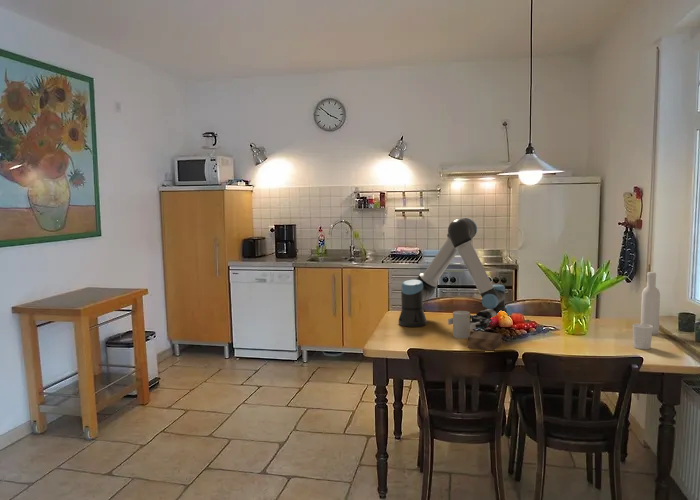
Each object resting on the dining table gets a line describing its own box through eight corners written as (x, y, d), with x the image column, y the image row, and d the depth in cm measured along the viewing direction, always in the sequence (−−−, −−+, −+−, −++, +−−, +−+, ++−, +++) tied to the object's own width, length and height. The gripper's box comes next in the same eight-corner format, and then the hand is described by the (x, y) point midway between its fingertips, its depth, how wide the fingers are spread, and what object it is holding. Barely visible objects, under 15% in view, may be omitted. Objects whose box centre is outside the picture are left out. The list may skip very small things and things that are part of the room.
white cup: (627, 345, 236) (628, 323, 235) (644, 344, 237) (645, 323, 236) (639, 350, 228) (639, 328, 227) (656, 349, 229) (656, 327, 228)
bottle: (643, 329, 262) (645, 270, 259) (660, 332, 256) (663, 272, 253) (637, 333, 256) (640, 272, 253) (655, 335, 251) (658, 274, 247)
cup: (470, 338, 252) (470, 314, 251) (453, 338, 254) (452, 314, 252) (469, 334, 260) (469, 310, 259) (453, 333, 262) (453, 310, 260)
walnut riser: (467, 347, 238) (467, 336, 237) (476, 341, 248) (476, 330, 247) (493, 351, 232) (493, 340, 231) (501, 344, 242) (501, 333, 241)
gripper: (506, 329, 259) (480, 336, 246) (466, 320, 278) (440, 327, 265) (507, 314, 258) (480, 321, 245) (466, 306, 277) (440, 312, 264)
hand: (459, 324), depth 255 cm, fingers open, 13 cm apart
